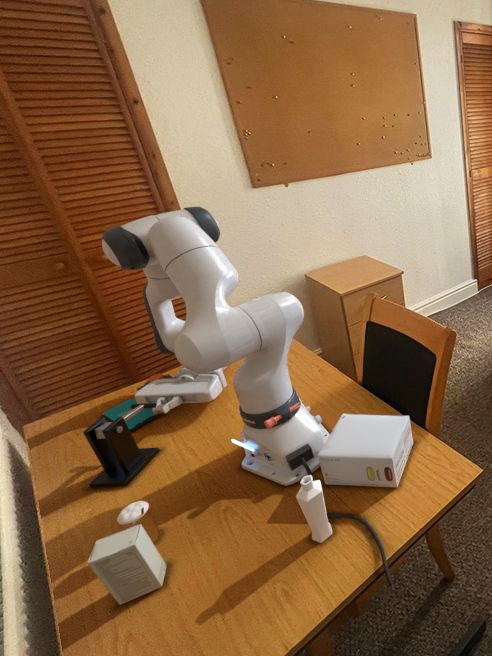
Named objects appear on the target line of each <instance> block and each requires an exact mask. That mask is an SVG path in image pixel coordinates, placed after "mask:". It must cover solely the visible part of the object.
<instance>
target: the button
mask: <svg viewBox="0 0 492 656" xmlns="http://www.w3.org/2000/svg"><path fill="white" fill-rule="evenodd" d="M164 375H165V374H164V373H160V372H159V373H154V374H153V375H151V376H149V377H148V378H147V382H149V383H151V382H152V381H154V380H157V379H165V377H164Z"/></svg>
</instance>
